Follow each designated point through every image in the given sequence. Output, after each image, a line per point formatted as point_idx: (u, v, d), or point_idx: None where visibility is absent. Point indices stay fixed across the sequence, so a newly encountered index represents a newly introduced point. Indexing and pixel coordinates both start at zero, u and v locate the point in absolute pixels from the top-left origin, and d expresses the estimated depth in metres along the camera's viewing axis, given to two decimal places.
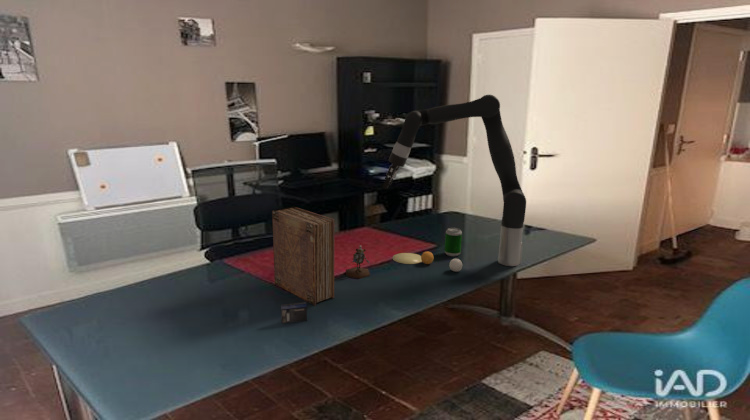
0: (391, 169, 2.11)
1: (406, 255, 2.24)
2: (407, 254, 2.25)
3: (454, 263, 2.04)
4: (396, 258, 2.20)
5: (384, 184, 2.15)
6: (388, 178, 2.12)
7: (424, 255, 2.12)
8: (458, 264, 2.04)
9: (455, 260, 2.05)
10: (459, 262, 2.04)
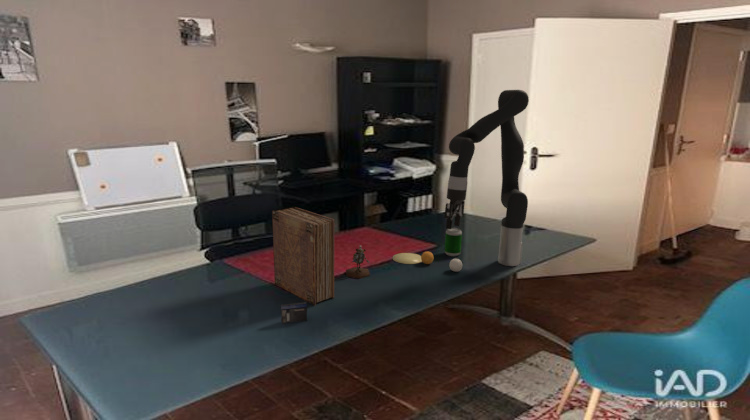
0: (448, 205, 1.89)
1: (406, 255, 2.24)
2: (407, 254, 2.25)
3: (454, 263, 2.04)
4: (396, 258, 2.20)
5: (446, 224, 1.92)
6: (447, 216, 1.90)
7: (424, 255, 2.12)
8: (458, 264, 2.04)
9: (455, 260, 2.05)
10: (459, 262, 2.04)
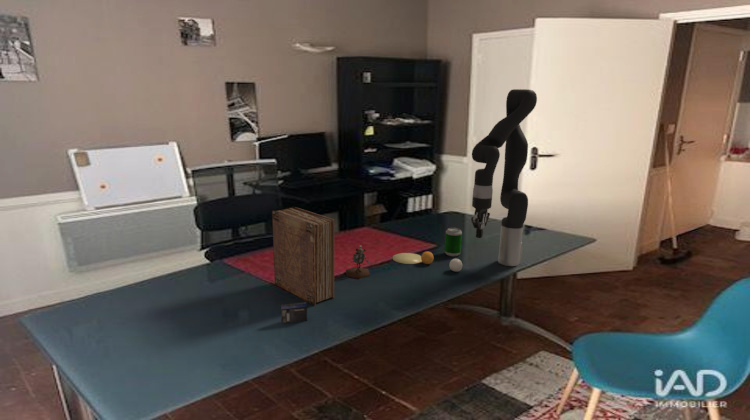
0: (473, 220, 1.91)
1: (406, 255, 2.24)
2: (407, 254, 2.25)
3: (454, 263, 2.04)
4: (396, 258, 2.20)
5: (476, 233, 1.96)
6: (477, 225, 1.93)
7: (424, 255, 2.12)
8: (458, 264, 2.04)
9: (455, 260, 2.05)
10: (459, 262, 2.04)
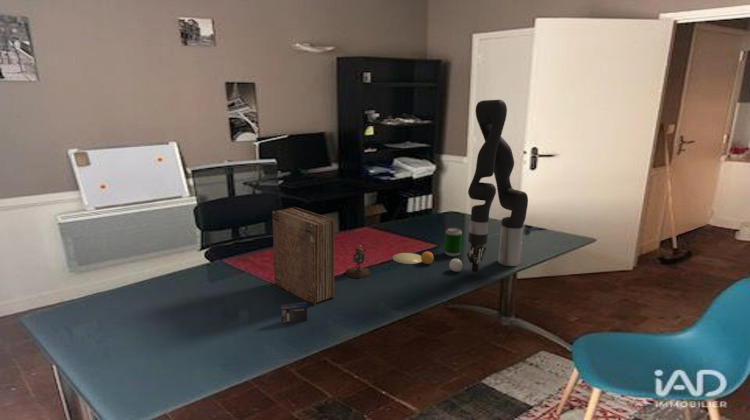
0: (469, 255, 1.94)
1: (406, 255, 2.24)
2: (407, 254, 2.25)
3: (454, 263, 2.04)
4: (396, 258, 2.20)
5: (472, 267, 2.00)
6: None
7: (424, 255, 2.12)
8: (458, 264, 2.04)
9: (455, 260, 2.05)
10: (459, 262, 2.04)
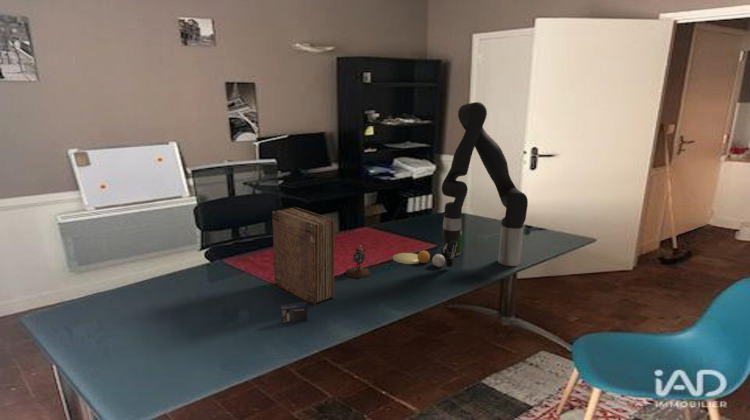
0: (443, 251, 2.01)
1: (406, 255, 2.24)
2: (407, 254, 2.25)
3: (433, 263, 2.10)
4: (396, 258, 2.20)
5: None
6: None
7: (418, 255, 2.14)
8: (432, 260, 2.11)
9: None
10: None
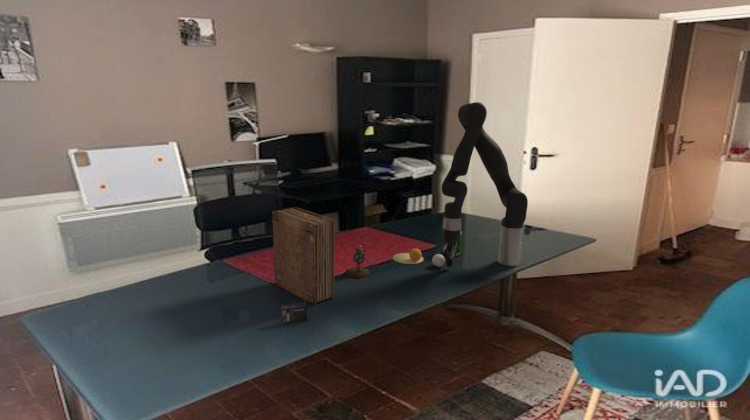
0: (443, 251, 2.02)
1: (406, 255, 2.24)
2: (407, 254, 2.25)
3: (433, 263, 2.10)
4: (396, 258, 2.20)
5: None
6: None
7: (410, 257, 2.17)
8: (432, 260, 2.11)
9: None
10: None
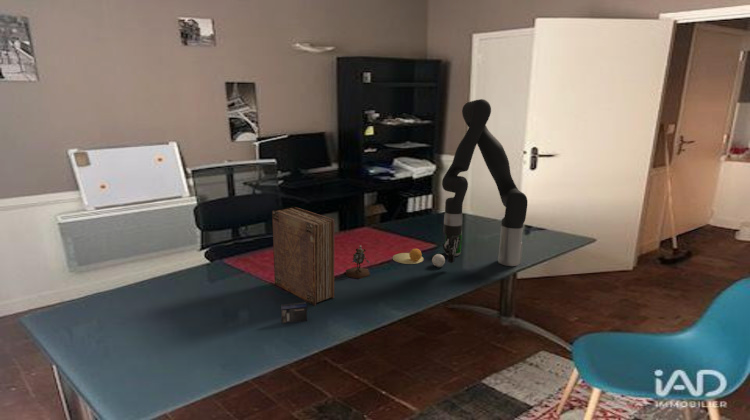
0: (445, 246, 2.00)
1: (406, 255, 2.24)
2: (407, 254, 2.25)
3: (433, 263, 2.10)
4: (396, 258, 2.20)
5: (448, 258, 2.06)
6: (448, 251, 2.03)
7: (410, 257, 2.17)
8: (432, 260, 2.11)
9: None
10: None
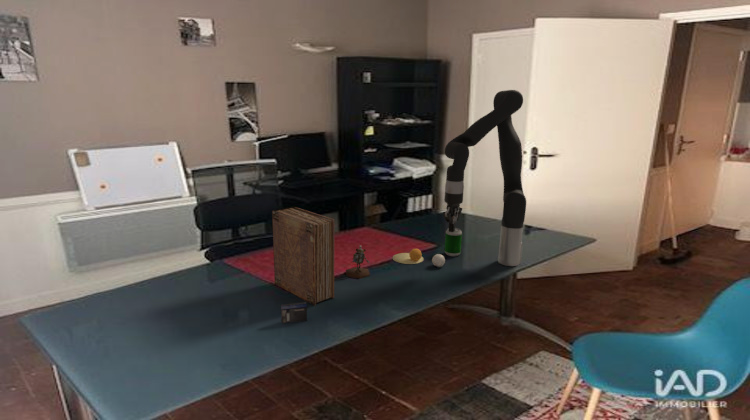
0: (445, 215, 1.98)
1: (406, 255, 2.24)
2: (407, 254, 2.25)
3: (433, 263, 2.10)
4: (396, 258, 2.20)
5: (449, 227, 2.03)
6: None
7: (410, 257, 2.17)
8: (432, 260, 2.11)
9: None
10: None
